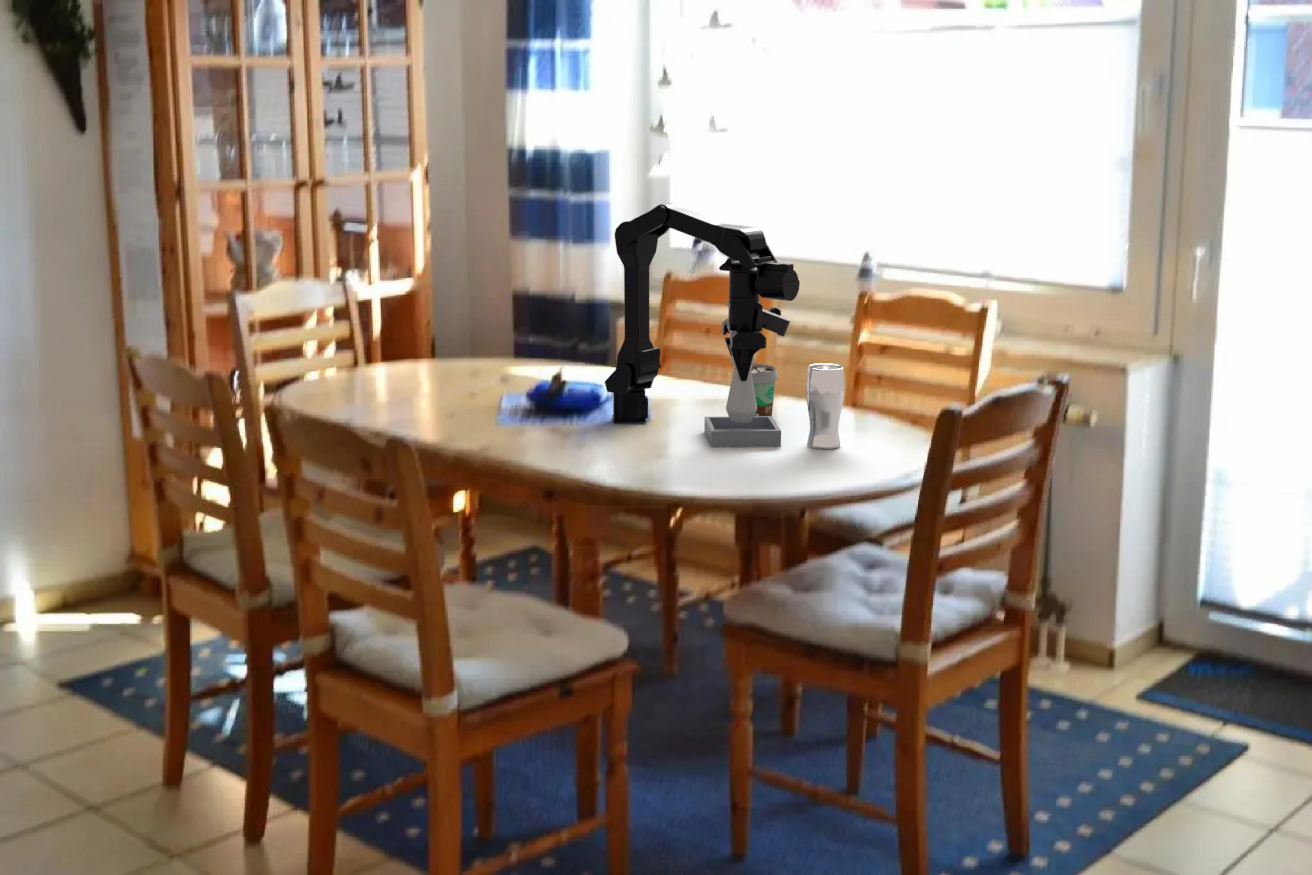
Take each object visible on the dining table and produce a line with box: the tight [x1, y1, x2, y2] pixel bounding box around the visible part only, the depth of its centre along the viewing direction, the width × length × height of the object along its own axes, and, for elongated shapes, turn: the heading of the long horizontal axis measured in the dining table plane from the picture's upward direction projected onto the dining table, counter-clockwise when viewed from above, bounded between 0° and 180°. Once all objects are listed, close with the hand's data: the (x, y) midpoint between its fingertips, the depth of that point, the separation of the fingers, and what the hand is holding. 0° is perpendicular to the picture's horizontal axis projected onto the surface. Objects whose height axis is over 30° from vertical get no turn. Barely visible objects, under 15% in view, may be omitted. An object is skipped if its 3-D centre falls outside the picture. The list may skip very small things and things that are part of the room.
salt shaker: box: [725, 354, 757, 423], centre depth 294 cm, size 6×6×13 cm
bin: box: [703, 415, 782, 448], centre depth 296 cm, size 13×13×3 cm
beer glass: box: [805, 363, 845, 451], centre depth 289 cm, size 7×7×15 cm
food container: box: [751, 363, 780, 417], centre depth 315 cm, size 12×6×10 cm, turn 168°
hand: (742, 378), depth 294 cm, fingers closed on salt shaker, 4 cm apart
